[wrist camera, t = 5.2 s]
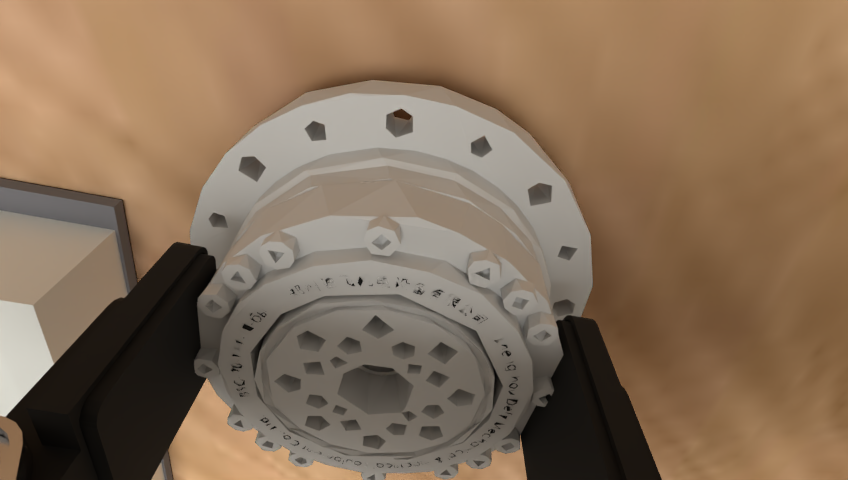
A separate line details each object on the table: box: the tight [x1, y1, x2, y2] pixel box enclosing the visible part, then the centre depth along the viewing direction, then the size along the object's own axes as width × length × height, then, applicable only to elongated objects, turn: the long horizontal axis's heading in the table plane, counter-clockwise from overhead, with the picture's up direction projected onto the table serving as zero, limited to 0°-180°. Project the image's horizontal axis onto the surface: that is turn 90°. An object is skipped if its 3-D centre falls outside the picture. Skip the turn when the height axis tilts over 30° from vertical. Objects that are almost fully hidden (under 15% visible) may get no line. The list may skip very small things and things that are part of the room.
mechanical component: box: [190, 80, 593, 480], centre depth 11 cm, size 10×4×10 cm
